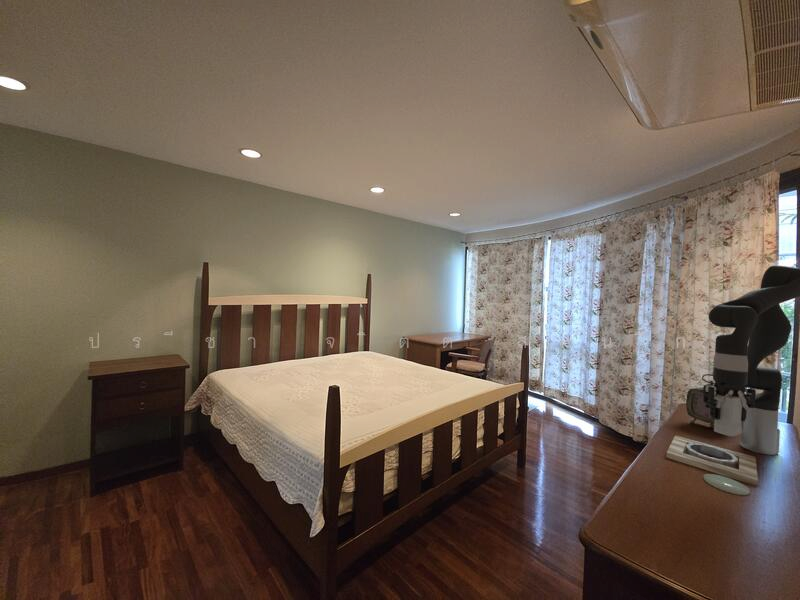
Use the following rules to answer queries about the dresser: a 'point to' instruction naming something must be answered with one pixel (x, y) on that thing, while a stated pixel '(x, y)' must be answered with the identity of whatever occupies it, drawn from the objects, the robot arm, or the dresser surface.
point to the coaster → (726, 484)
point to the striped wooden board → (744, 473)
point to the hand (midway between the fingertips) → (727, 419)
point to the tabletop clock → (699, 404)
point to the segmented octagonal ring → (700, 448)
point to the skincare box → (729, 417)
